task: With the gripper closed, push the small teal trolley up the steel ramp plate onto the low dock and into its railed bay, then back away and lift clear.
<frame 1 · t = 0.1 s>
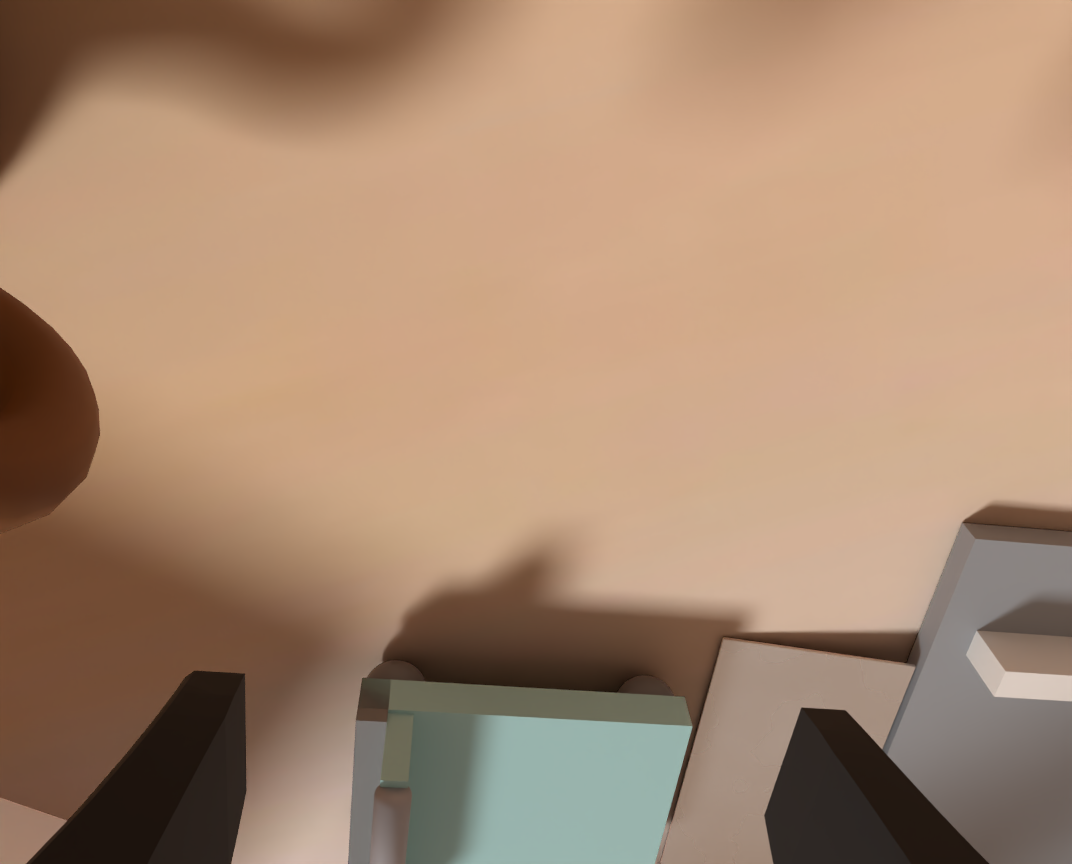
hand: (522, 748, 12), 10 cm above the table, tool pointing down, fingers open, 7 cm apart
trolley: (508, 753, 26), on the table
ramp plate: (776, 776, 27), on the table, hinge at -6.9°
dock: (1026, 779, 28), on the table
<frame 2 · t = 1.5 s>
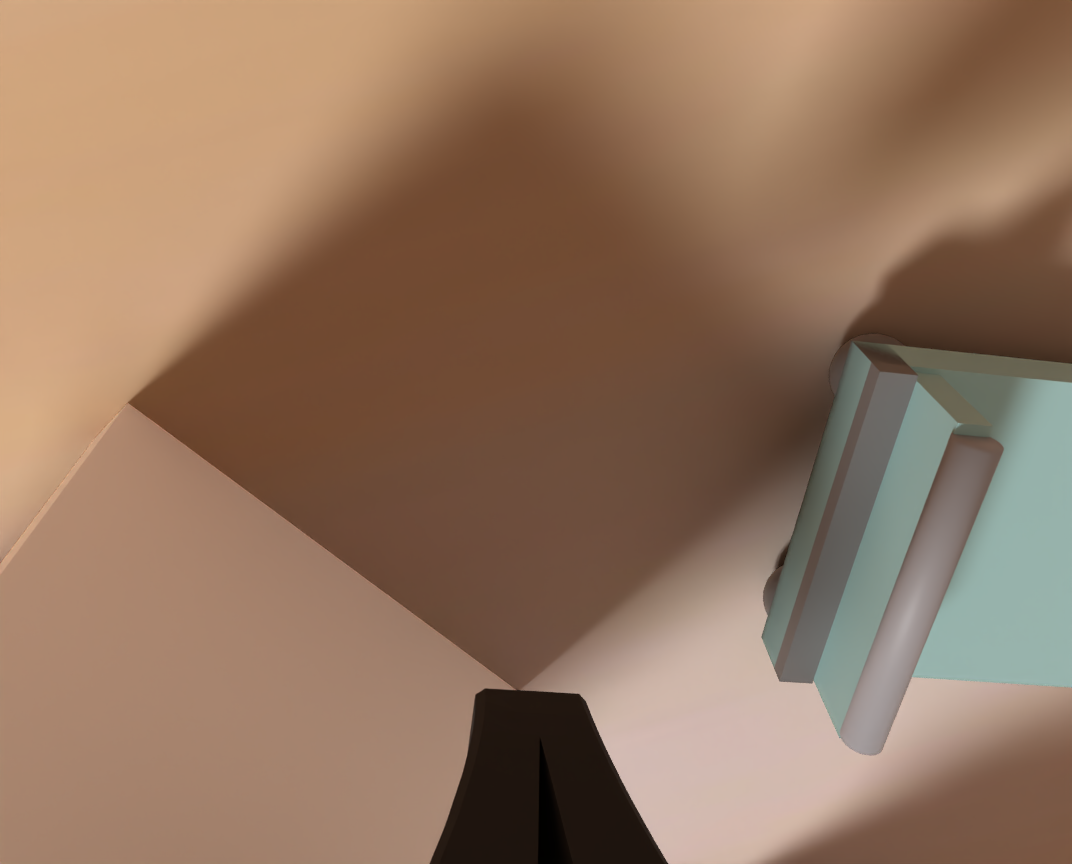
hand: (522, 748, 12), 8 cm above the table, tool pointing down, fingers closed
trolley: (962, 486, 21), on the table
storage container: (26, 837, 25), on the table
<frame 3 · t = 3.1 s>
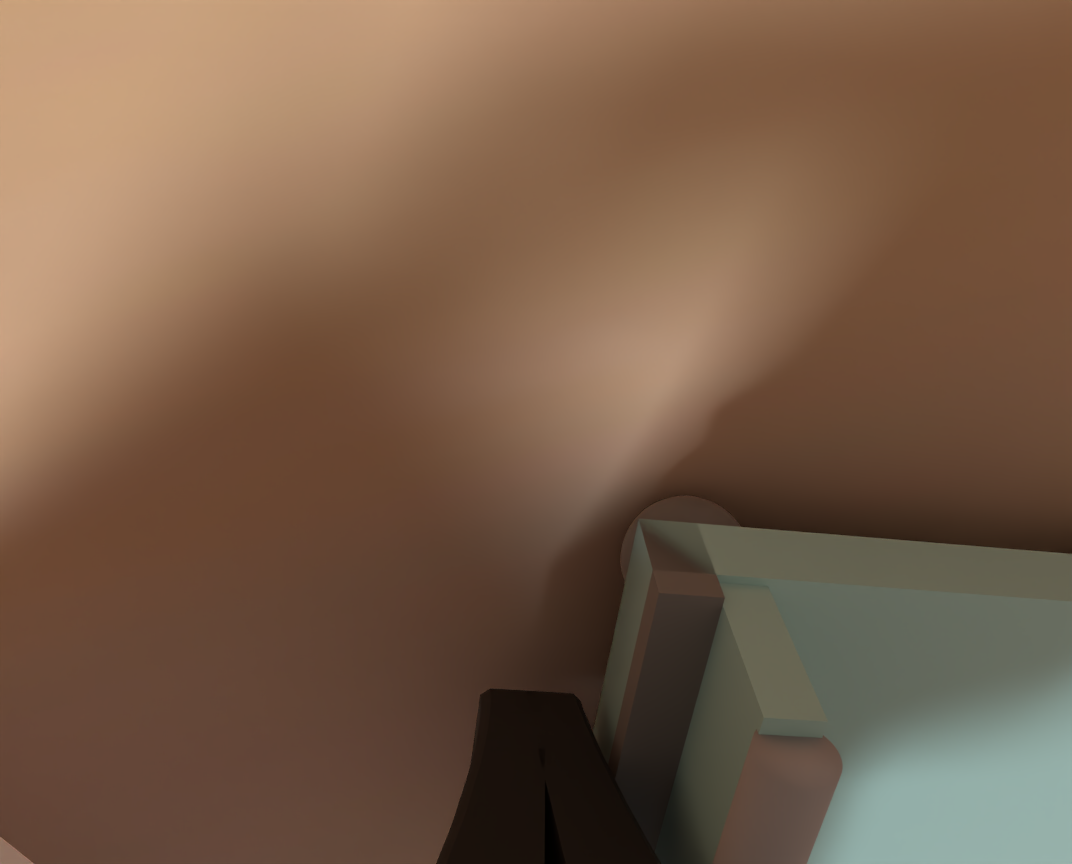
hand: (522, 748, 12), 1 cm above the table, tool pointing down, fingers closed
trolley: (847, 693, 14), on the table, touching gripper
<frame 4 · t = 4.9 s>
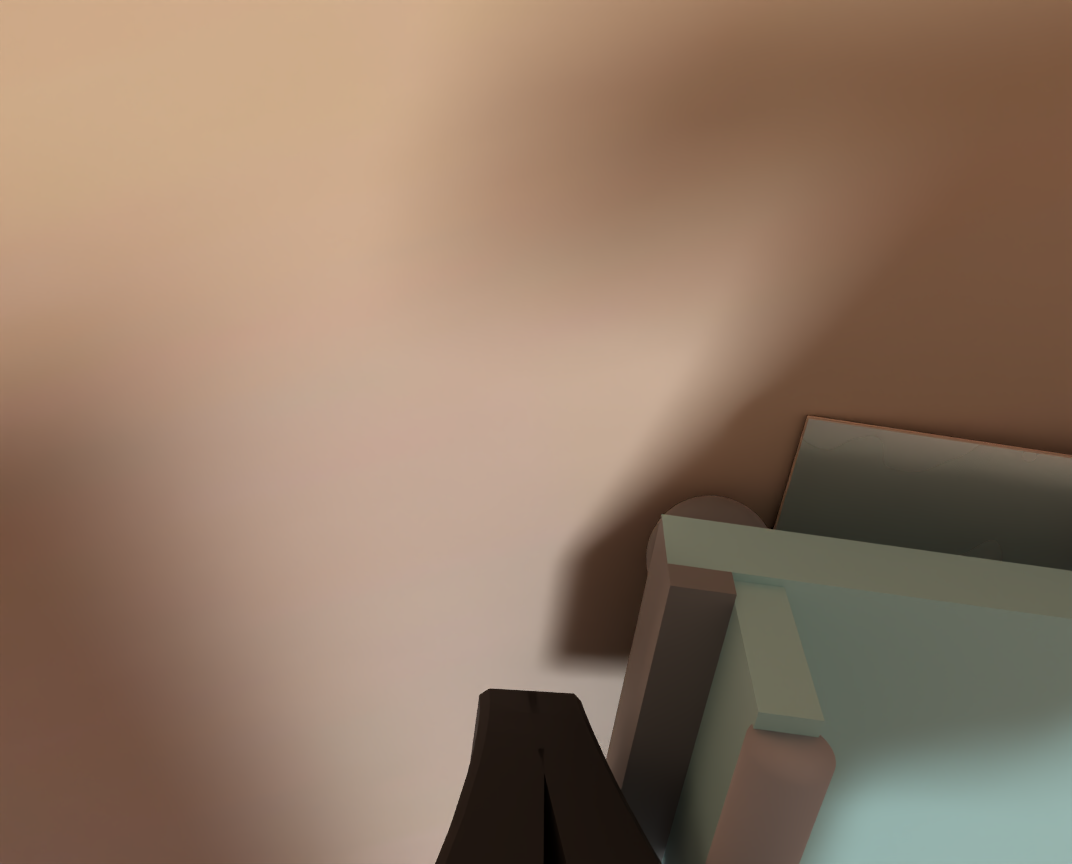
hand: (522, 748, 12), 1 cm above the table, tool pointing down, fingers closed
trolley: (882, 710, 14), on the table, tilted 6°, touching dock, gripper
ramp plate: (895, 715, 14), on the table, hinge at -6.9°
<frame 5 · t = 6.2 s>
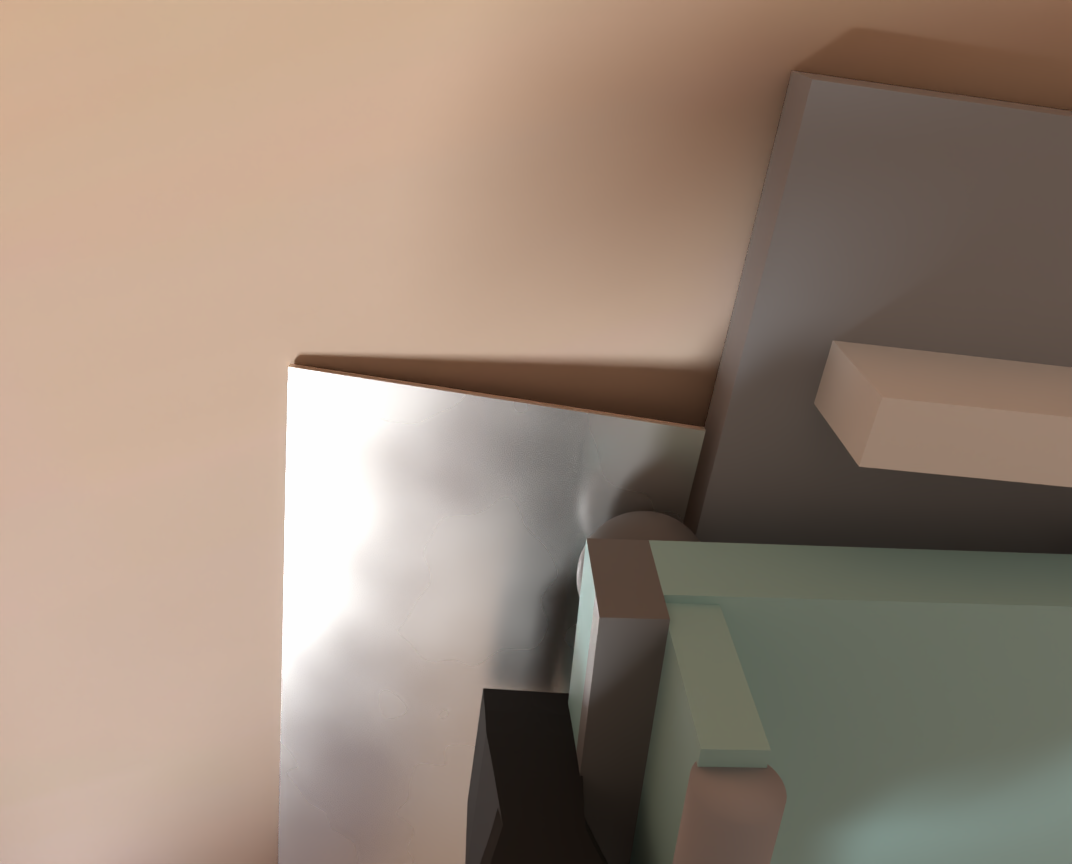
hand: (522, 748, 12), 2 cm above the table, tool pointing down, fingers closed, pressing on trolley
trolley: (836, 708, 13), point 1 cm above the table, touching dock, gripper, ramp plate
ramp plate: (459, 685, 13), on the table, hinge at -6.9°, touching trolley
dock: (962, 703, 15), on the table
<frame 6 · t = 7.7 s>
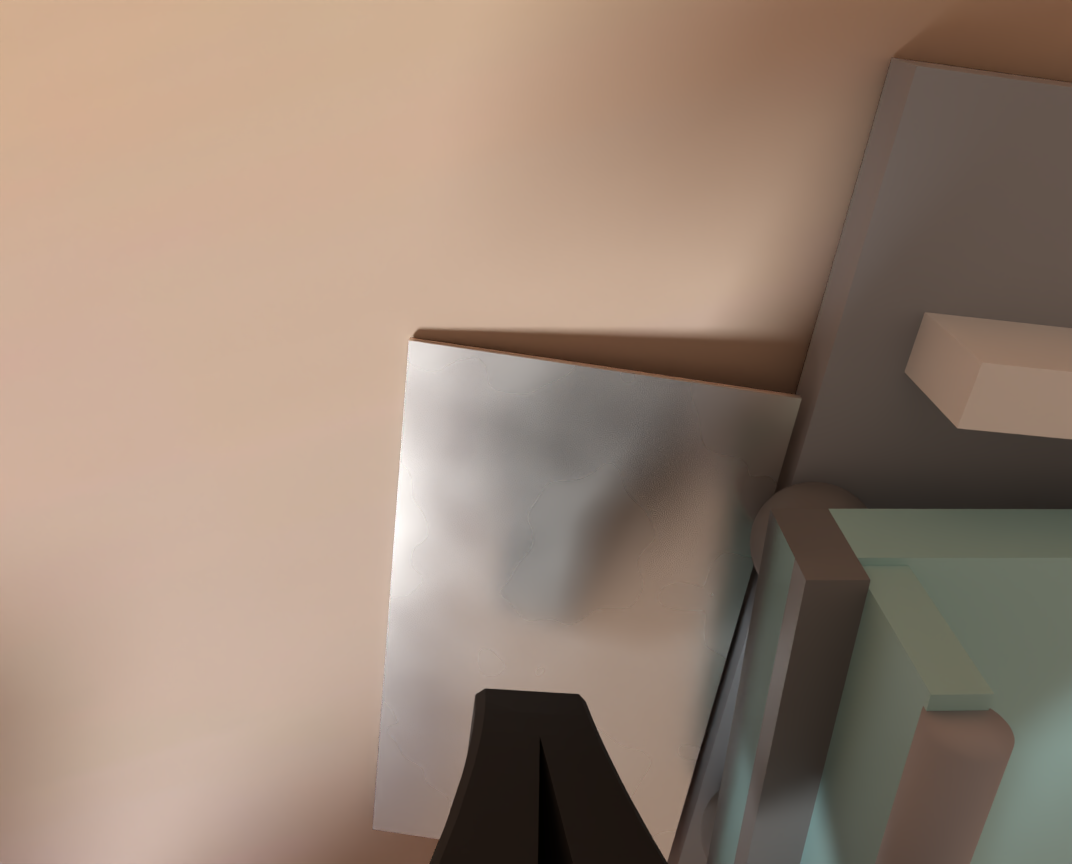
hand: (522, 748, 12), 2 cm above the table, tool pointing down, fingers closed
trolley: (975, 662, 14), point 1 cm above the table, touching dock
ramp plate: (555, 643, 14), on the table, hinge at -6.9°
dock: (1027, 661, 15), on the table
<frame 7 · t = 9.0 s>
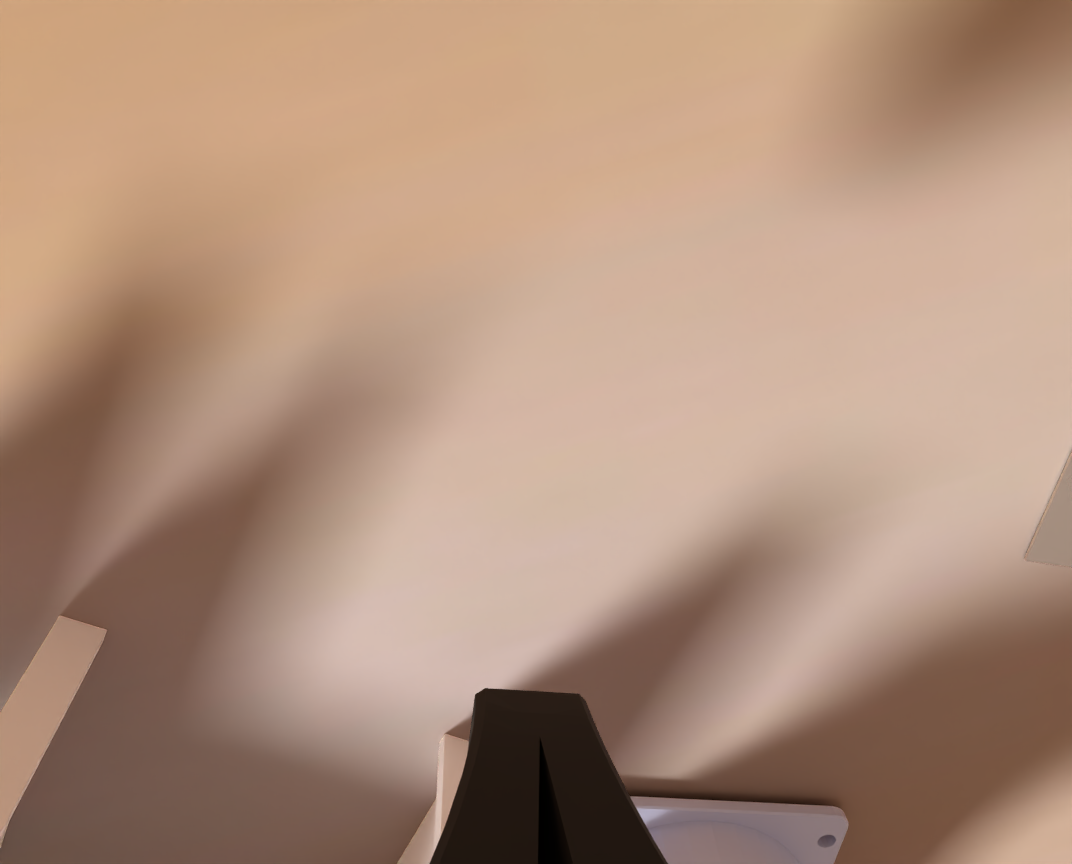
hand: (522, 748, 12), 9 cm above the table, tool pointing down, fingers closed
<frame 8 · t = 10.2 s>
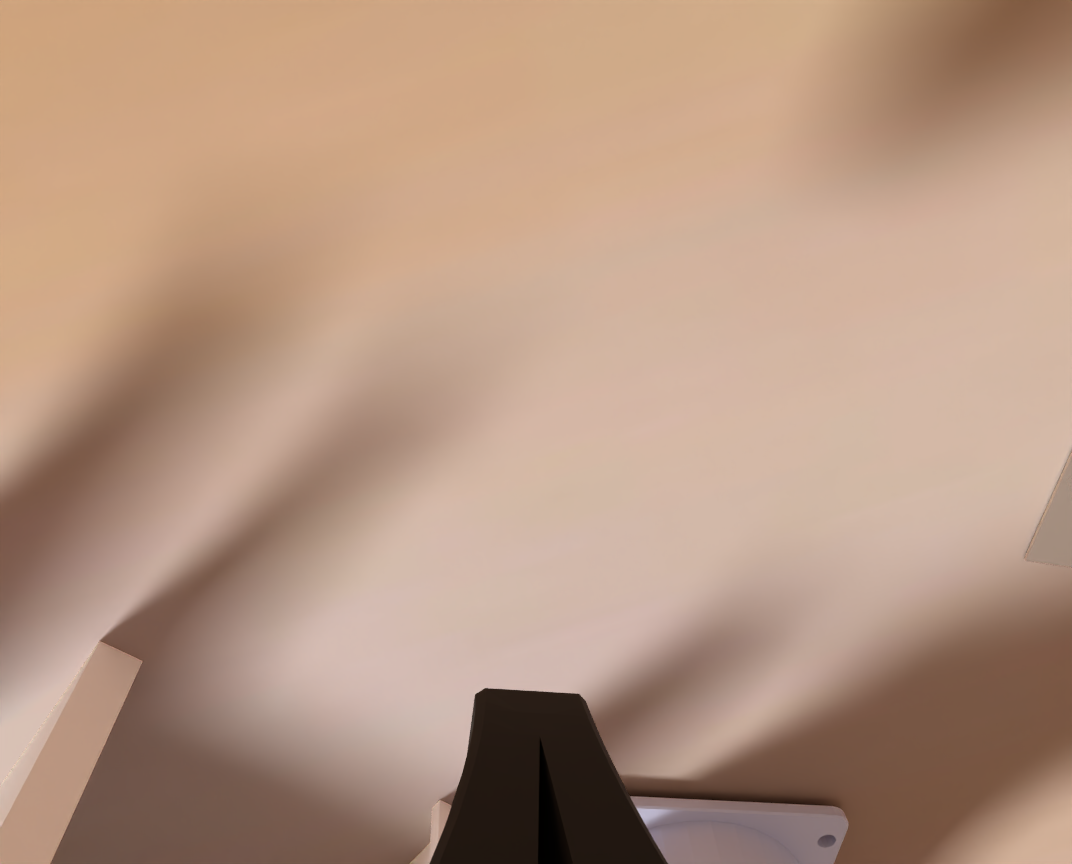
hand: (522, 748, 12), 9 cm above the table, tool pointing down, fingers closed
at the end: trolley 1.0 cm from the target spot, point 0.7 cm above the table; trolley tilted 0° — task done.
